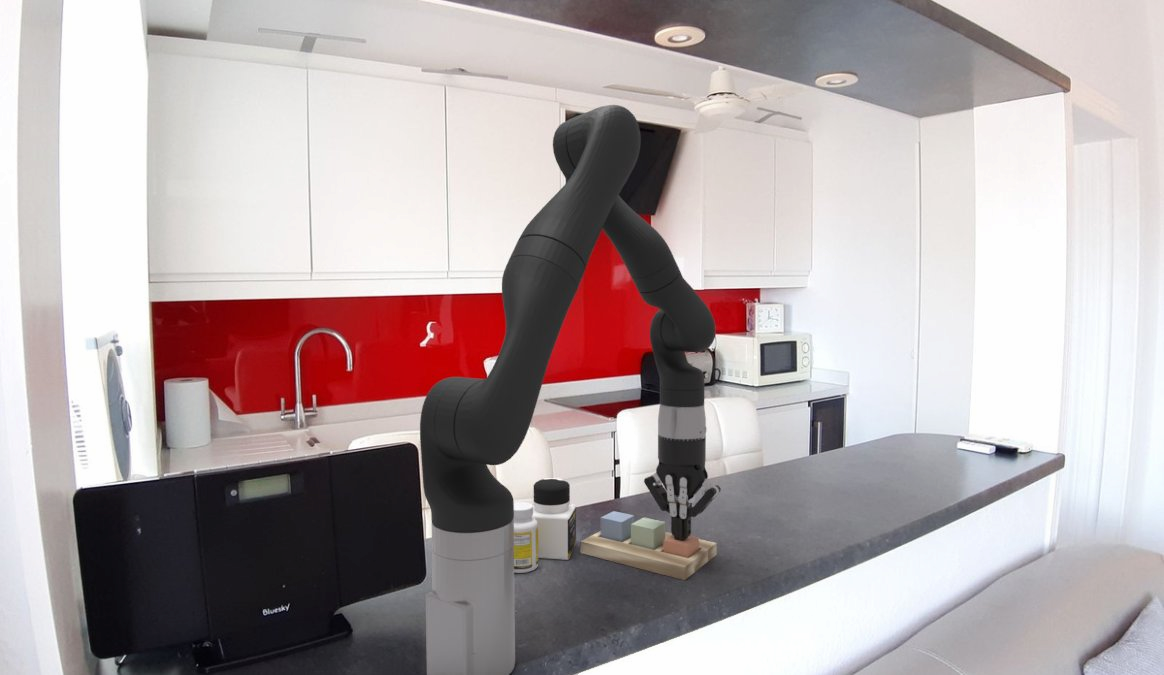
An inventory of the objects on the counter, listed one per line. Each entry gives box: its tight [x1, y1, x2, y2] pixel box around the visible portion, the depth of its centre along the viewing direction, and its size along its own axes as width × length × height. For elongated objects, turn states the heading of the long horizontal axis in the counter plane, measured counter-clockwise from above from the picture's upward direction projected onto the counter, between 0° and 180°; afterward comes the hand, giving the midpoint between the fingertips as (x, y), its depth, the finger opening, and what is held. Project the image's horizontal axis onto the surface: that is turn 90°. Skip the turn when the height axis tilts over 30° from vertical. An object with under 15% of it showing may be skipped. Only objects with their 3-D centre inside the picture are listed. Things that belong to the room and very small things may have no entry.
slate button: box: [599, 510, 635, 542], centre depth 113 cm, size 4×4×4 cm
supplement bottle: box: [514, 501, 539, 574], centre depth 104 cm, size 5×5×10 cm
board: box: [580, 530, 718, 581], centre depth 109 cm, size 12×19×2 cm, turn 55°
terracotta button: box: [663, 535, 700, 558], centre depth 106 cm, size 4×4×4 cm
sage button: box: [631, 516, 667, 550], centre depth 109 cm, size 4×4×4 cm
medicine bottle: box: [532, 477, 577, 561], centre depth 110 cm, size 7×7×12 cm
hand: (681, 538), depth 106 cm, fingers closed
